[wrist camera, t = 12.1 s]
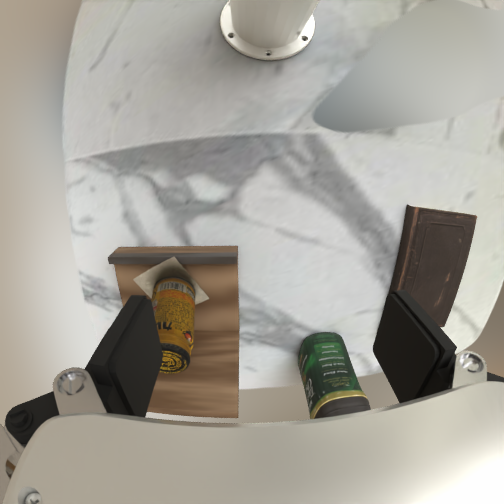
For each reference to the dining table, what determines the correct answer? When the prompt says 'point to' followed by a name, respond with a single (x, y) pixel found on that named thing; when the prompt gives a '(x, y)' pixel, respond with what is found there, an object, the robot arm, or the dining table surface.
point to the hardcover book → (433, 258)
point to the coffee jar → (329, 377)
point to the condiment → (173, 310)
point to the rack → (195, 328)
